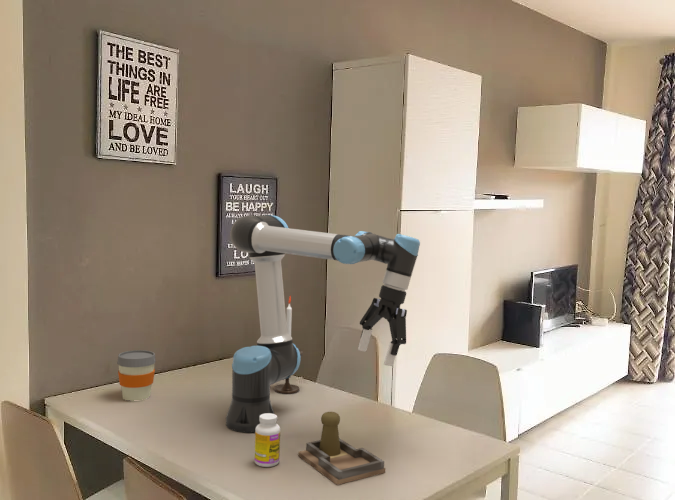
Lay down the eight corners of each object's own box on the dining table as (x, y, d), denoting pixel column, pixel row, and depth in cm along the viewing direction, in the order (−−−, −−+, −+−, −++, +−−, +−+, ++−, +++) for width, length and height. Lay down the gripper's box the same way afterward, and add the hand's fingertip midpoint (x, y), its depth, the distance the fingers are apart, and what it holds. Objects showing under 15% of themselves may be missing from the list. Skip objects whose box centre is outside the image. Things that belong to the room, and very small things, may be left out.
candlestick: (285, 383, 243) (287, 291, 240) (307, 389, 237) (310, 295, 234) (265, 390, 234) (268, 295, 231) (288, 396, 228) (291, 299, 225)
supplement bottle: (269, 470, 168) (270, 422, 167) (249, 463, 172) (250, 416, 171) (284, 461, 174) (285, 415, 173) (265, 455, 177) (266, 410, 176)
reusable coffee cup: (163, 396, 224) (163, 353, 223) (134, 405, 214) (134, 361, 212) (138, 389, 231) (138, 348, 230) (109, 398, 220) (109, 355, 219)
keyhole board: (298, 455, 178) (298, 444, 178) (343, 445, 186) (344, 435, 186) (336, 484, 161) (337, 472, 161) (385, 472, 169) (385, 460, 169)
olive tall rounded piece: (338, 457, 175) (339, 417, 174) (316, 454, 176) (317, 415, 175) (342, 448, 181) (343, 410, 180) (321, 446, 182) (322, 408, 181)
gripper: (431, 300, 179) (410, 373, 179) (380, 280, 200) (361, 346, 200) (411, 295, 175) (389, 370, 175) (360, 276, 196) (341, 343, 196)
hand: (374, 358), depth 188 cm, fingers open, 13 cm apart
